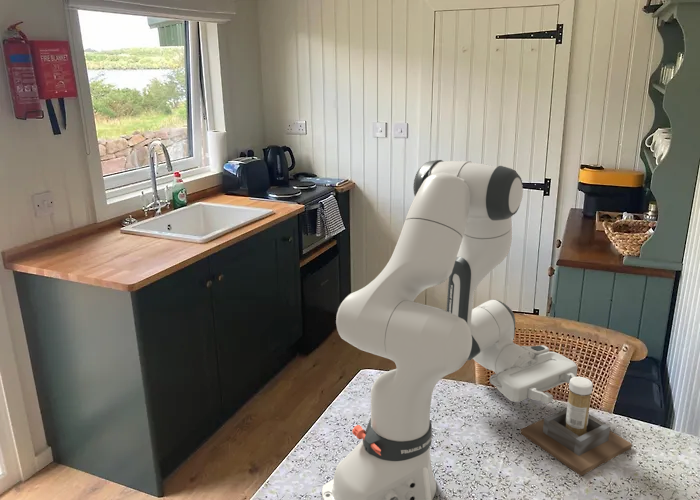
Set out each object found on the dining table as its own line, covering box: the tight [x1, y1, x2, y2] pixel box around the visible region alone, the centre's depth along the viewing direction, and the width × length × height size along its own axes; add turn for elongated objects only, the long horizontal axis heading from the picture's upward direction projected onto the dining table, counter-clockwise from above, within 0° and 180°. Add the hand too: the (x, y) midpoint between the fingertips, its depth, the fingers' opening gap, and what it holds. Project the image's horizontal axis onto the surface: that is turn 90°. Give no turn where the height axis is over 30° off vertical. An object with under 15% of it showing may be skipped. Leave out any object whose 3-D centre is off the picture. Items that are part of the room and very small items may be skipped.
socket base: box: [519, 407, 633, 477], centre depth 123 cm, size 16×16×5 cm
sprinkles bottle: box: [565, 376, 594, 436], centre depth 121 cm, size 5×5×13 cm
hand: (565, 393), depth 124 cm, fingers open, 8 cm apart
